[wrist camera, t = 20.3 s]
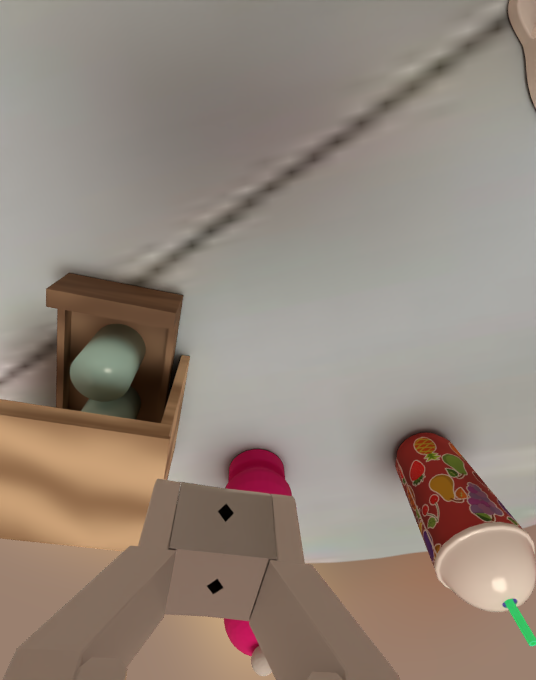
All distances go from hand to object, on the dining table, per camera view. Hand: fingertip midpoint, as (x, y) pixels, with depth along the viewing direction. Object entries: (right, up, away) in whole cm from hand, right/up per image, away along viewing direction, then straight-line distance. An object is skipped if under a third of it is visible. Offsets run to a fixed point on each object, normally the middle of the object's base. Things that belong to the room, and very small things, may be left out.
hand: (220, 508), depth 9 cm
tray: (-13, +1, +31) cm, 34 cm away
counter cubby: (-14, -2, +32) cm, 35 cm away
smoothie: (+19, -9, +38) cm, 43 cm away
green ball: (-13, +3, +29) cm, 32 cm away
